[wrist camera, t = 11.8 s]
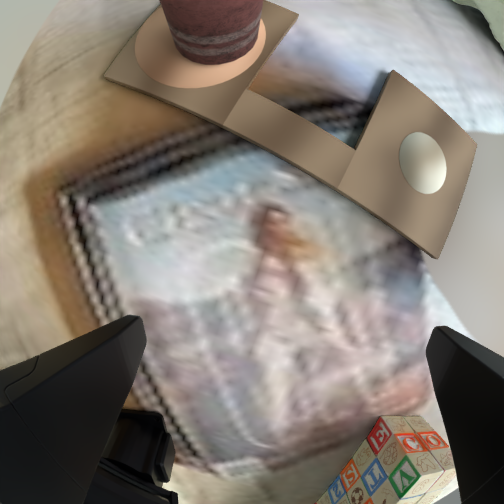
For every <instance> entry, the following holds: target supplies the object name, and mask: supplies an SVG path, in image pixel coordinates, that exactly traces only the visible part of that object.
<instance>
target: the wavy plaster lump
mask: <svg viewBox="0 0 504 504" xmlns="http://www.w3.org/2000/svg"><path fill="white" fill-rule="evenodd" d="M452 1H454V2H455V3H457V4H460V5H467V6H471V7H474V8H476V9H478V10H480V11H481V12H482V13H483V15H484V17H485V19H486V20H487V21H488V23H489V27H490V29H491V31H492V34H493V36H494V38H495V39H496V40H497V41H498V42H499V43H500V46H501V48H502V49H503V51H504V0H452Z"/></svg>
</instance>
